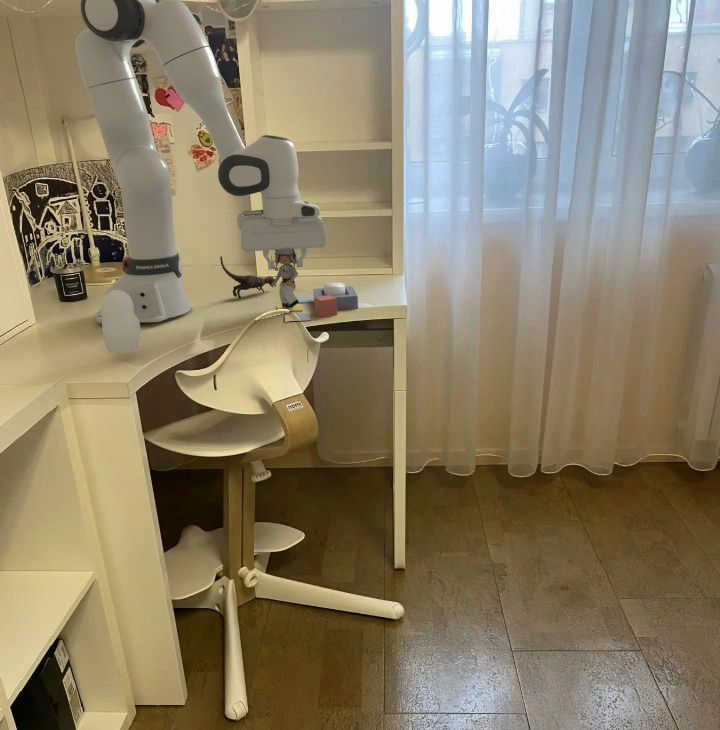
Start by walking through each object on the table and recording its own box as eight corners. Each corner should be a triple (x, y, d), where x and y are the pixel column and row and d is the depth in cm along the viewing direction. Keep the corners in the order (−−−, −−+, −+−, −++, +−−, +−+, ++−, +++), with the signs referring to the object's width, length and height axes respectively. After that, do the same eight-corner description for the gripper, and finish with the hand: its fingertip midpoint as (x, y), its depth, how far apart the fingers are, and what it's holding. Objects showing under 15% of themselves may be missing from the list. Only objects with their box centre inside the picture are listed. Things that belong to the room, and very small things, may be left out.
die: (321, 317, 155) (320, 300, 153) (315, 313, 158) (314, 297, 157) (337, 314, 156) (336, 298, 155) (330, 310, 160) (329, 294, 158)
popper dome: (325, 304, 162) (324, 288, 160) (323, 298, 167) (323, 283, 165) (346, 302, 162) (346, 286, 161) (344, 297, 167) (343, 282, 166)
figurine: (145, 340, 142) (137, 286, 138) (135, 352, 135) (126, 295, 131) (112, 342, 142) (102, 287, 138) (100, 354, 135) (89, 296, 131)
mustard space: (277, 313, 159) (277, 311, 159) (276, 306, 164) (276, 305, 164) (302, 311, 160) (302, 310, 160) (301, 304, 165) (300, 303, 165)
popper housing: (316, 310, 160) (316, 298, 158) (313, 300, 169) (313, 288, 168) (357, 307, 161) (357, 295, 160) (352, 297, 170) (352, 286, 169)
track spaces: (284, 322, 151) (284, 321, 151) (281, 295, 175) (281, 294, 175) (349, 317, 153) (349, 316, 153) (338, 291, 177) (338, 290, 177)
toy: (270, 306, 162) (264, 245, 157) (286, 301, 166) (281, 241, 161) (290, 311, 158) (286, 248, 152) (306, 305, 162) (302, 244, 156)
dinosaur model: (279, 284, 178) (254, 236, 169) (247, 309, 173) (220, 261, 164) (270, 282, 181) (246, 234, 172) (239, 307, 176) (212, 259, 167)
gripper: (236, 212, 149) (241, 273, 154) (326, 208, 152) (328, 267, 157) (237, 209, 155) (242, 267, 160) (323, 205, 158) (326, 262, 163)
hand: (285, 267), depth 158 cm, fingers closed on toy, 5 cm apart
